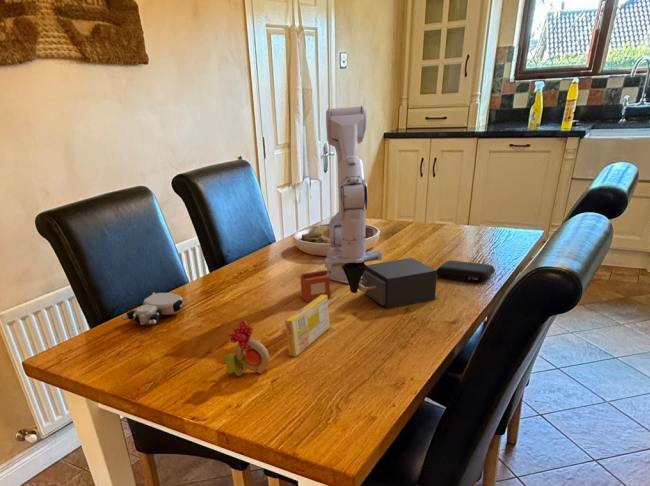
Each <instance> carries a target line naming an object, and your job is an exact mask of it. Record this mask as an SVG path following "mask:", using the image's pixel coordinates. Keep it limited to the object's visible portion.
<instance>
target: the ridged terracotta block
mask: <svg viewBox="0 0 650 486" xmlns="http://www.w3.org/2000/svg"><path fill="white" fill-rule="evenodd" d="M299 277H300V291H301V299H303V300H304V301H305V302H306V303H310V302H312V301H313V300H315V299H316V298H317V297H319V296H320V295H327V299H330V298H331V297H330V296H331V294H330V293H331V292H330V279H329V276H328V275H327V269H324V270H323V269H322V270H318V271H311V272H305V273H301V275H300V276H299Z"/></svg>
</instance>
